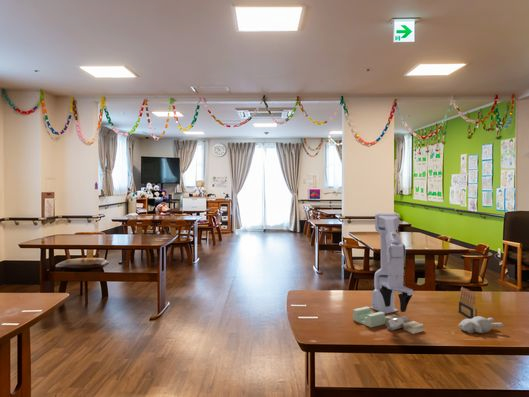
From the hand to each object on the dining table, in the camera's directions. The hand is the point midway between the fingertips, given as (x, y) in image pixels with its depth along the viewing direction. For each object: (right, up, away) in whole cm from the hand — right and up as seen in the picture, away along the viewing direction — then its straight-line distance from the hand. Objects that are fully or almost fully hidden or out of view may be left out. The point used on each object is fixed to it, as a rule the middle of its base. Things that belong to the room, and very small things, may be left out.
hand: (395, 308), depth 153 cm
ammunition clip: (+36, -8, +15) cm, 40 cm away
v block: (-8, -8, +8) cm, 14 cm away
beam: (+4, -8, +3) cm, 9 cm away
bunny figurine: (+33, -9, -1) cm, 34 cm away
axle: (+2, -8, +1) cm, 8 cm away
